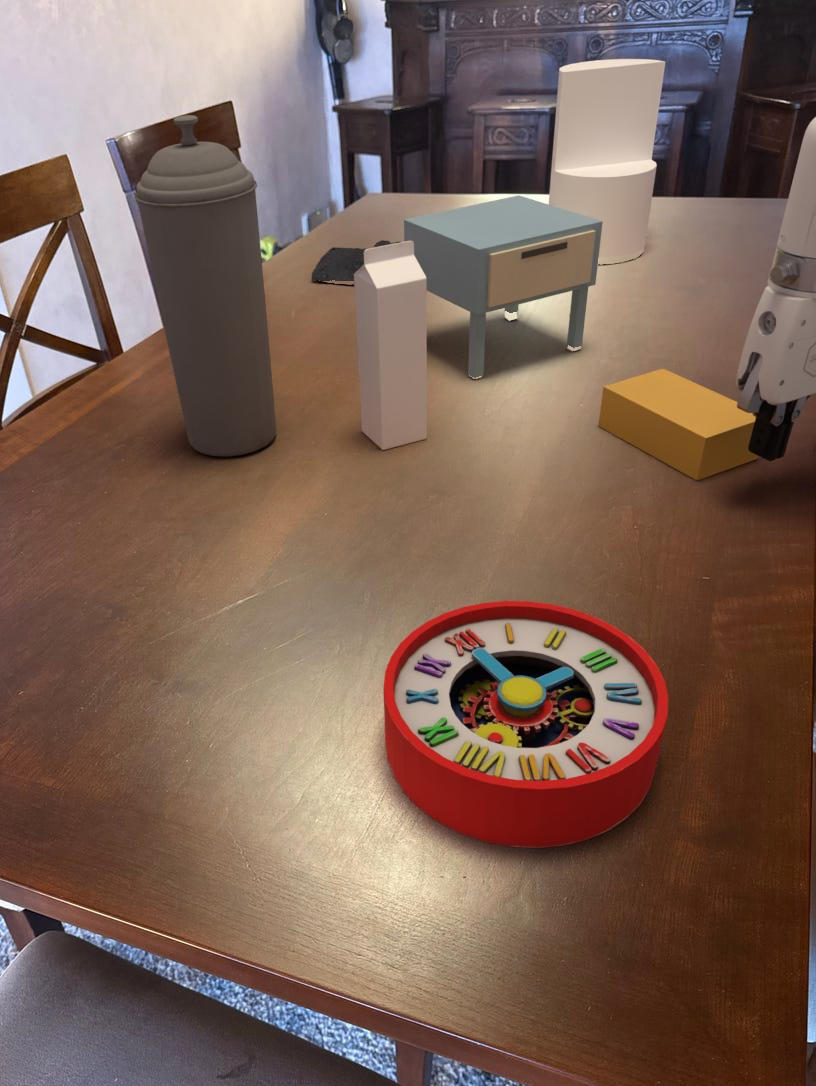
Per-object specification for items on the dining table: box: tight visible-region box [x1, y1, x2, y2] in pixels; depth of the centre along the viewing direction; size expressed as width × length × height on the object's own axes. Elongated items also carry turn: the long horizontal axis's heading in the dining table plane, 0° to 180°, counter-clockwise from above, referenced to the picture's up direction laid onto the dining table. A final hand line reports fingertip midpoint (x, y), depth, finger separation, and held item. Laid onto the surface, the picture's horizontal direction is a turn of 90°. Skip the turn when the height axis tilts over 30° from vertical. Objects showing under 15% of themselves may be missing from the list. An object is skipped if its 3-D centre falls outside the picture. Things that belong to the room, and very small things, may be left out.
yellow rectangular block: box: [597, 368, 760, 481], centre depth 101 cm, size 16×9×5 cm, turn 27°
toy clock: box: [382, 600, 669, 849], centre depth 66 cm, size 20×6×20 cm
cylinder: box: [548, 58, 666, 257], centre depth 151 cm, size 17×17×28 cm
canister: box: [134, 114, 277, 458], centre depth 100 cm, size 13×13×35 cm
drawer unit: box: [403, 195, 603, 378], centre depth 123 cm, size 19×19×17 cm
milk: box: [354, 241, 428, 451], centre depth 102 cm, size 6×6×22 cm
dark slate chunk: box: [311, 239, 402, 281], centre depth 157 cm, size 15×22×5 cm
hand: (765, 454), depth 92 cm, fingers closed
